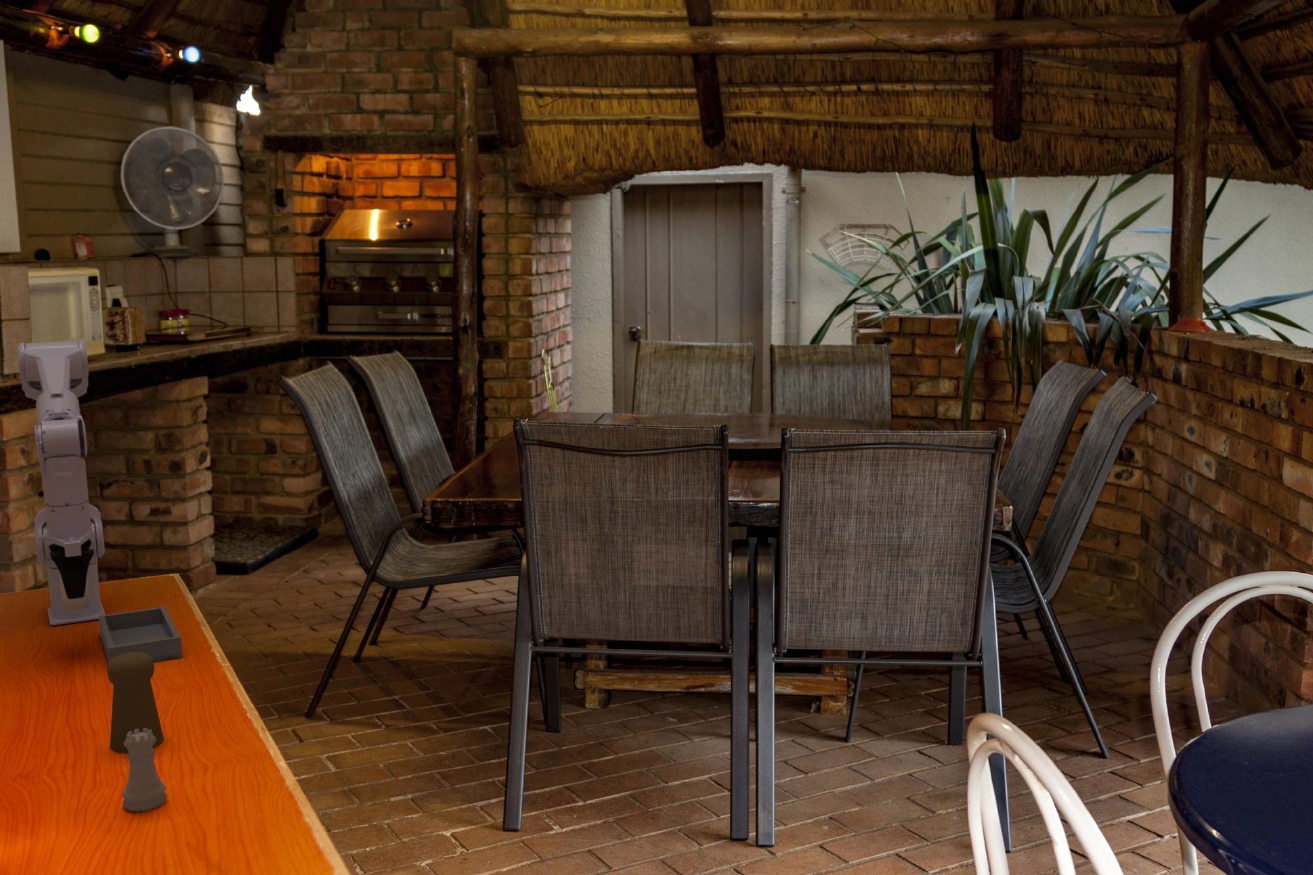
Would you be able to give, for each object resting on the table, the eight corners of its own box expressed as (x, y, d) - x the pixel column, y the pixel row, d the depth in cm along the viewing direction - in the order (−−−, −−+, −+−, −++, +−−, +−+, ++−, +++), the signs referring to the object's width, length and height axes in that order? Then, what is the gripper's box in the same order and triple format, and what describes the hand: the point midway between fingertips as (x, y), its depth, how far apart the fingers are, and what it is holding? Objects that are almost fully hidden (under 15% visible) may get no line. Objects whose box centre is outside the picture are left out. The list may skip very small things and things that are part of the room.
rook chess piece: (122, 816, 131) (116, 744, 129) (122, 799, 135) (116, 728, 134) (168, 808, 133) (162, 736, 131) (166, 791, 137) (160, 721, 135)
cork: (151, 753, 147) (144, 663, 145) (100, 753, 147) (92, 663, 145) (172, 733, 153) (165, 646, 151) (123, 733, 153) (115, 646, 151)
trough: (100, 634, 191) (98, 615, 191) (166, 624, 196) (165, 606, 195) (110, 668, 176) (108, 648, 175) (182, 657, 180) (180, 637, 180)
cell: (62, 605, 183) (57, 559, 181) (89, 602, 184) (84, 555, 183) (63, 612, 179) (58, 564, 178) (90, 608, 181) (86, 561, 180)
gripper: (34, 496, 184) (42, 586, 186) (37, 515, 171) (46, 611, 173) (86, 491, 187) (94, 579, 189) (93, 509, 174) (101, 603, 177)
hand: (75, 594), depth 181 cm, fingers closed on cell, 4 cm apart
